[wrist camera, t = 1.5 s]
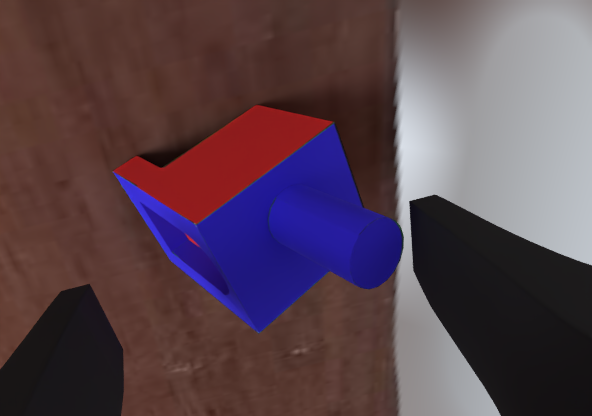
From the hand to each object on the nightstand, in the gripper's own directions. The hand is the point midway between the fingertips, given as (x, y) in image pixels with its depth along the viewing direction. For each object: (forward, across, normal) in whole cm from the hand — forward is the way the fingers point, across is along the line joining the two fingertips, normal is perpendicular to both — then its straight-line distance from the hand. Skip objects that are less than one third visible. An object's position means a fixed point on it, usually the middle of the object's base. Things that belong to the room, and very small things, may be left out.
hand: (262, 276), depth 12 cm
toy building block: (+6, 0, 0) cm, 6 cm away
